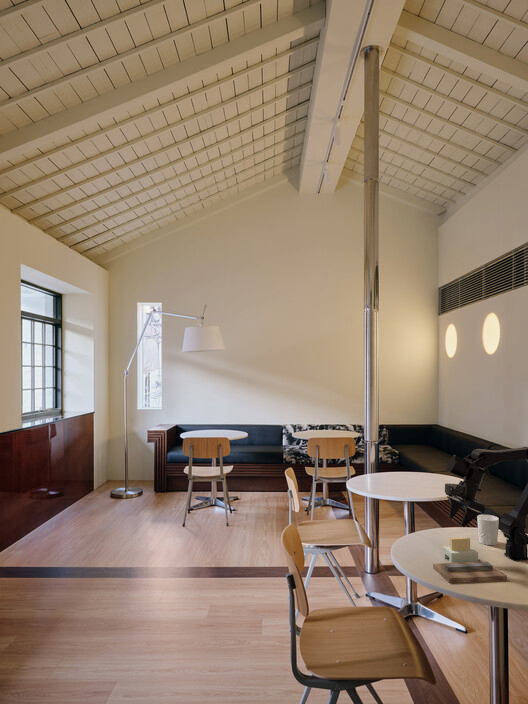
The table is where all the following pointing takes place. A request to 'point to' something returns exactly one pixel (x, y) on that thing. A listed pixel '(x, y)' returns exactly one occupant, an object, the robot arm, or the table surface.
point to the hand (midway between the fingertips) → (456, 522)
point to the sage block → (460, 551)
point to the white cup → (488, 529)
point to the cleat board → (469, 572)
